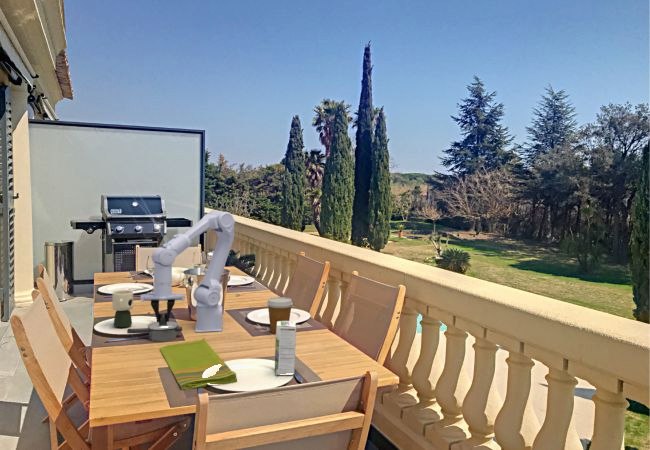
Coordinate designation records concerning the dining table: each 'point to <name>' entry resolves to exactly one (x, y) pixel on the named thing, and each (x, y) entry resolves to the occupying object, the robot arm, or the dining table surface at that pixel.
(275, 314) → the disposable coffee cup
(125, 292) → the character mug
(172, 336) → the cooker base
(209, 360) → the dish towel
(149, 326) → the lid
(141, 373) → the dining table surface
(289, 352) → the syrup box
